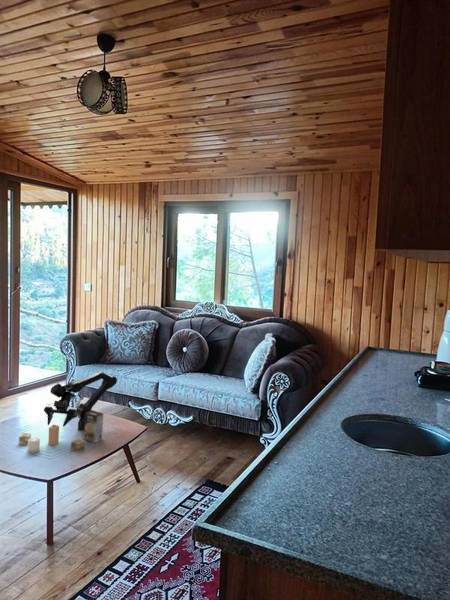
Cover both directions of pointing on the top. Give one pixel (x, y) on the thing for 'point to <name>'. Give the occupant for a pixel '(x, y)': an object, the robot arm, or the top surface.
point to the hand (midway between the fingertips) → (55, 425)
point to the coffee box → (93, 426)
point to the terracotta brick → (53, 435)
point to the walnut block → (77, 445)
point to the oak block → (24, 438)
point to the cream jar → (33, 445)
